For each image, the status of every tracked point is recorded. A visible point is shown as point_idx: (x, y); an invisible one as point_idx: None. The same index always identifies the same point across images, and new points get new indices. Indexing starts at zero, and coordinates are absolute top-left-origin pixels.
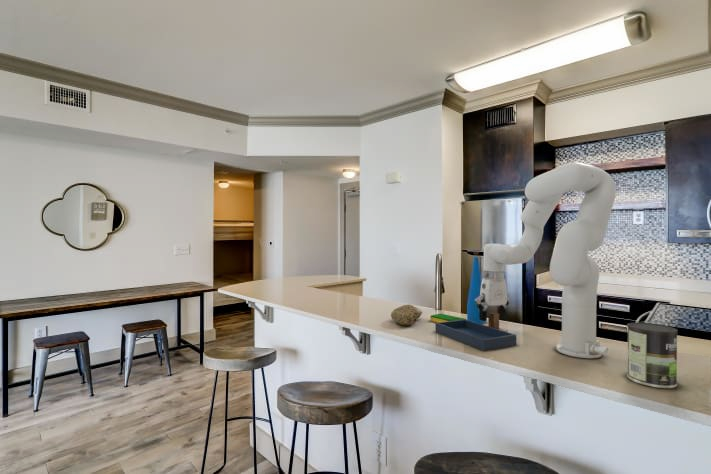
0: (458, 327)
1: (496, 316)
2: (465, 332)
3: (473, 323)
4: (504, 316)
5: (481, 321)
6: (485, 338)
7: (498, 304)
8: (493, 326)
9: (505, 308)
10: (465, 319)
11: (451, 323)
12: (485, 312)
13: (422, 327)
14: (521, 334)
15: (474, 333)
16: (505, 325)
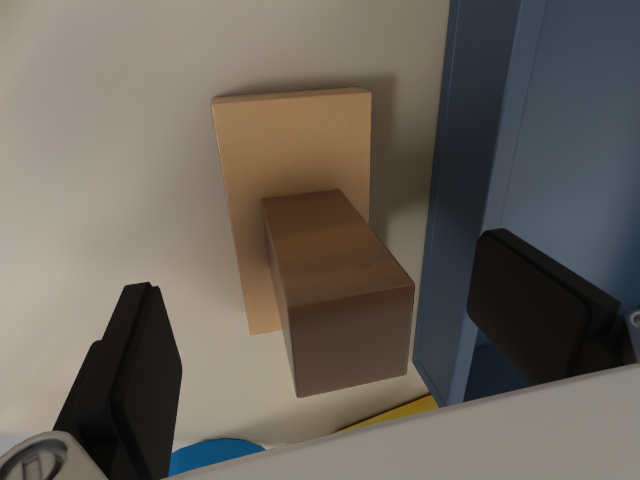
0: (487, 348)
1: (342, 267)
2: (544, 239)
3: None
4: (140, 300)
5: (206, 458)
6: (588, 6)
7: (459, 422)
8: (350, 204)
9: (59, 434)
10: None
11: None
12: (599, 291)
13: None
14: (19, 26)
15: (516, 194)
16: (4, 385)
